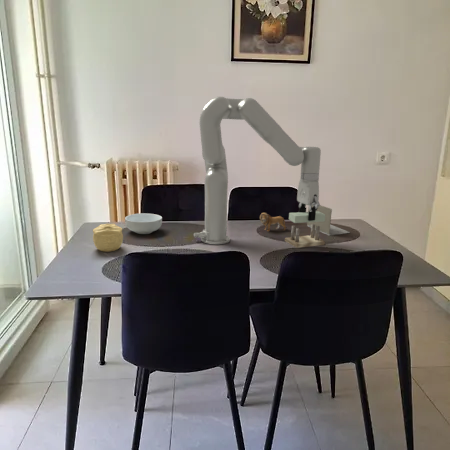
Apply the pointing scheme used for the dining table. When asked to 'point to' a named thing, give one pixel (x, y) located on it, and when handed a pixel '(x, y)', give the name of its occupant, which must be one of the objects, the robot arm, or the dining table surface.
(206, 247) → the dining table surface
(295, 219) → the pale green block
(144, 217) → the cereal bowl
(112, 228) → the sculpture
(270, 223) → the lion figurine
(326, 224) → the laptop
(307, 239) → the peg stand
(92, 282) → the dining table surface
